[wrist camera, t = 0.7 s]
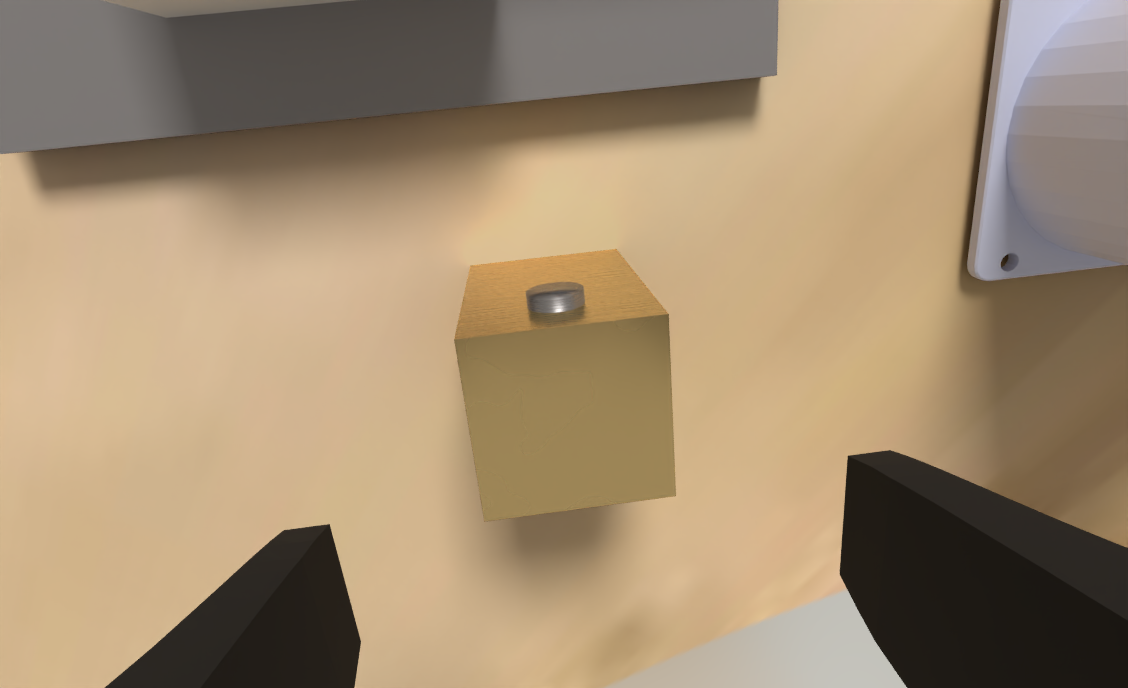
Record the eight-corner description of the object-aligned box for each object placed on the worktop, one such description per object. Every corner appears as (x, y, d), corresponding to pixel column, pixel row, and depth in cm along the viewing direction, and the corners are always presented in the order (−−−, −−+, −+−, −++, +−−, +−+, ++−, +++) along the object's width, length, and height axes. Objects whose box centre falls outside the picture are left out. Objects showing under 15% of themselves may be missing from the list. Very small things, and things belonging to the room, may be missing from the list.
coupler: (615, 238, 17) (668, 298, 12) (626, 391, 19) (676, 507, 13) (469, 254, 17) (451, 324, 12) (491, 407, 19) (486, 533, 13)
